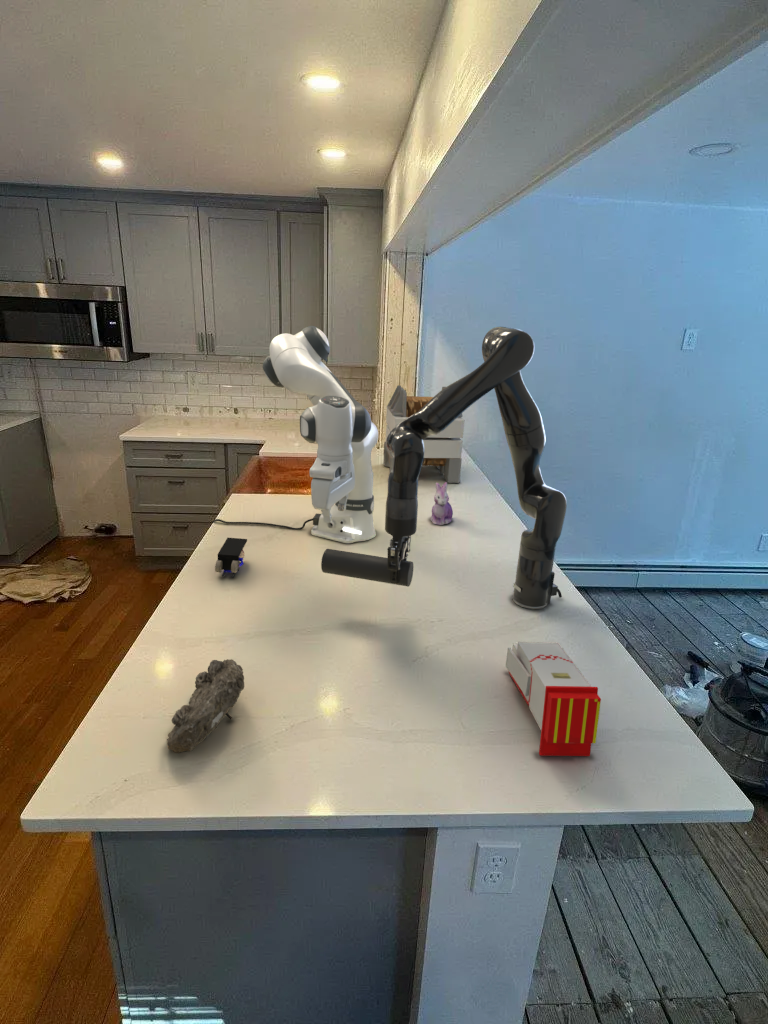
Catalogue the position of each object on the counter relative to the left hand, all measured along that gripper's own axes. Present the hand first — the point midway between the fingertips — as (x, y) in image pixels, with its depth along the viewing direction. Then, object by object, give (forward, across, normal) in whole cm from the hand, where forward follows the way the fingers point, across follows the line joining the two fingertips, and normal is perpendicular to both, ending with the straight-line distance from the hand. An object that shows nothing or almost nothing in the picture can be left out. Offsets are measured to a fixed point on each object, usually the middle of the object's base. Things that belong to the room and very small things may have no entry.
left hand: (335, 515), depth 145 cm
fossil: (+24, +51, -4) cm, 57 cm away
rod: (+13, +5, +11) cm, 18 cm away
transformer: (+24, -132, -10) cm, 135 cm away
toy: (+25, +26, +56) cm, 66 cm away
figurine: (+24, -71, +14) cm, 76 cm away
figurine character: (+24, -5, -35) cm, 42 cm away
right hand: (+12, +5, +19) cm, 23 cm away
